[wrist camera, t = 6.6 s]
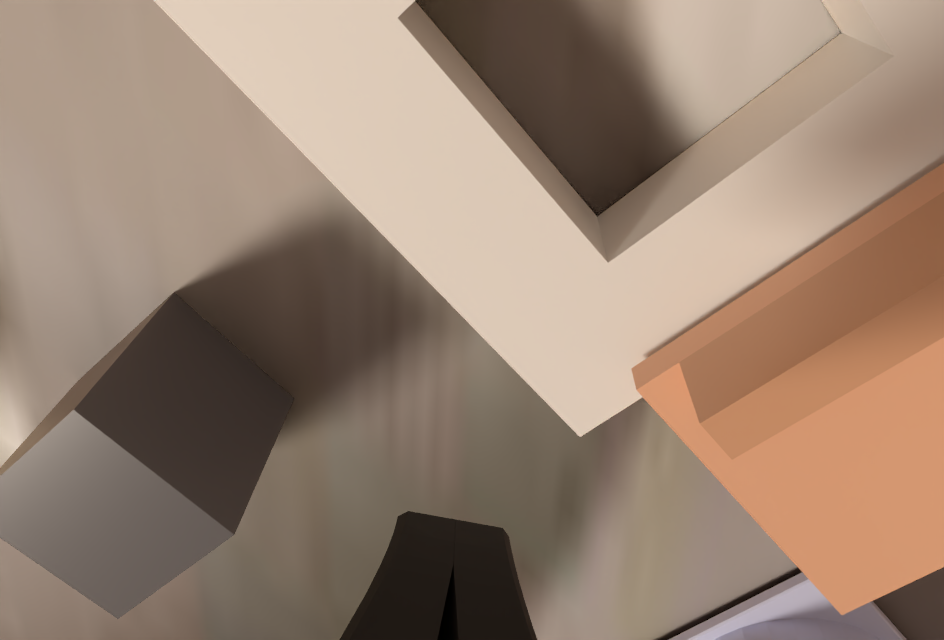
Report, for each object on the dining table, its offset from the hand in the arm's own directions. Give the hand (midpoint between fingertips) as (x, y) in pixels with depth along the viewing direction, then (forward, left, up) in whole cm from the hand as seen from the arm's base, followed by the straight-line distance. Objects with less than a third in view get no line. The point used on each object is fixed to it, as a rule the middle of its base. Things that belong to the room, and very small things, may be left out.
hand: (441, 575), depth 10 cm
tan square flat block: (-7, -6, -7) cm, 11 cm away
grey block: (+2, +8, -10) cm, 13 cm away
